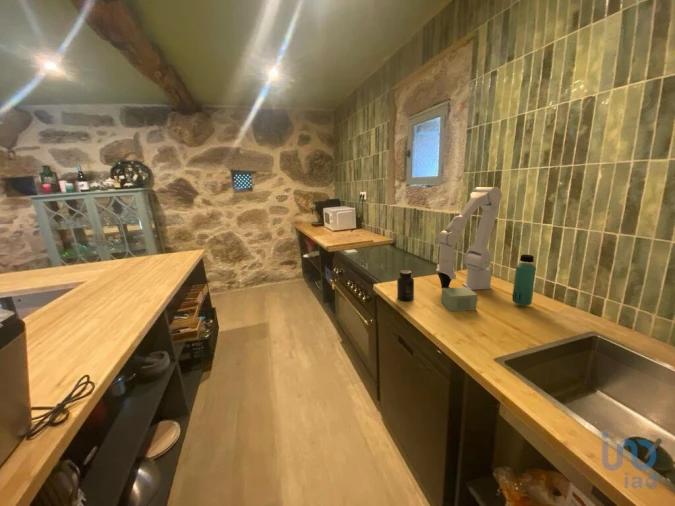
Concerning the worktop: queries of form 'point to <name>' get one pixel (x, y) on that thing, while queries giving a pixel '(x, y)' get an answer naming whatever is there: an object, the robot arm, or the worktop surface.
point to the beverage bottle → (524, 281)
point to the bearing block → (459, 299)
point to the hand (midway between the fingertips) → (444, 289)
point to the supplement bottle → (405, 286)
